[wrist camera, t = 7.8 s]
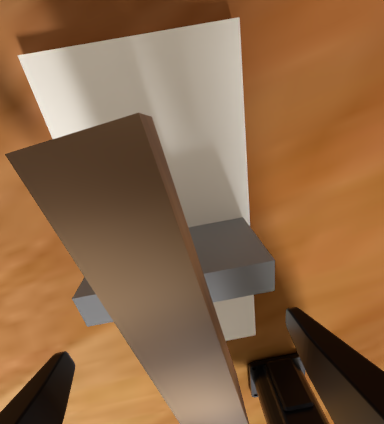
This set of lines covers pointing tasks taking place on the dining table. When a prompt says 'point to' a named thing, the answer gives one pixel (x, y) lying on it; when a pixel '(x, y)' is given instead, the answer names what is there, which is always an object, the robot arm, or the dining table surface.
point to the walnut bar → (138, 258)
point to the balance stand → (173, 143)
